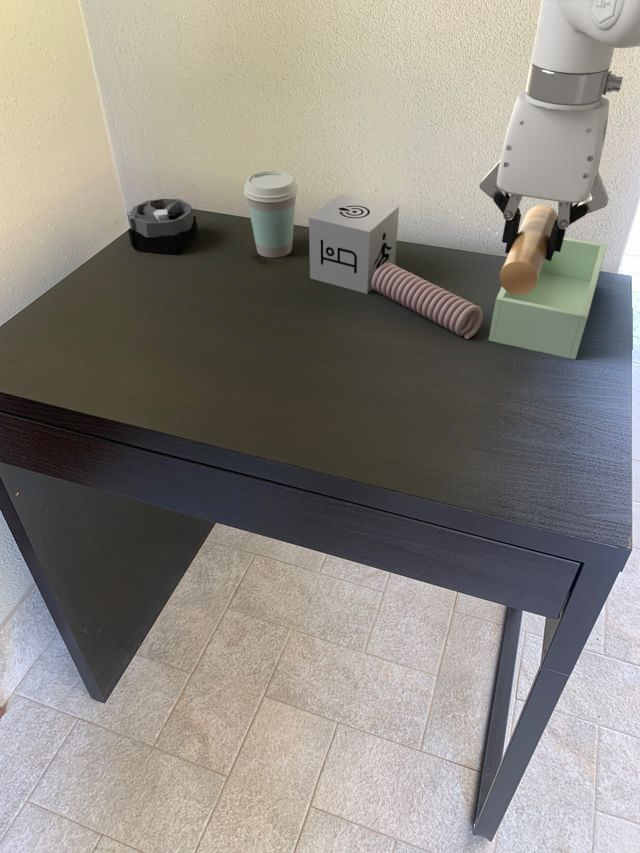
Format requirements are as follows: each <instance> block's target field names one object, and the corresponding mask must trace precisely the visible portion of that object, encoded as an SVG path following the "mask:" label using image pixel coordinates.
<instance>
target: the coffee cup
mask: <svg viewBox="0 0 640 853" xmlns="http://www.w3.org/2000/svg"><path fill="white" fill-rule="evenodd" d="M298 192H299V188H298V185H297V183H296V180H295V177H294V176H293V175H292V174H291V173H289V172H286V171H283V170H275V169H274V170H273V169H272V170H271V169H269V170H261V171H256V172H254V173H251V174H250V175H248V176H247V178H246V181H245V185H244V187H243V195H244V196H245V197H246V200H247V206H248V207H247V208H248V211H249V216H250V221H251V226H252V233H253V238H254V242H255V248H256V251H257V254H259V255H260V256H262V257H264V258H271V259H275V258H277V259H278V258H283V257H285V256H288V255H289V254H291V252H292V249H293V239H294V226H295V215H296V214H295V212H296V201H297V200H296V199H297V194H298Z"/></svg>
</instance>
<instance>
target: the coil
mask: <svg viewBox="0 0 640 853" xmlns="http://www.w3.org/2000/svg"><path fill="white" fill-rule="evenodd" d="M380 273H381V274H380ZM377 279H378V280H377ZM372 288H373V289H372V290H374V291H375V292H378V293H379V295H380V294H381V295H383V296H384V297H387V298H388V299H389V300H392V301H393V302H395V303H396V302H397V303H398V304H399V305H402V306H403V307H405V308H408V309H409V310H410V311H413V312H414V313H418V314H419V316H423V317H424V318H425V319H428V320H429V321H431V322H434V323H435V324H436V325H439V326H440V327H442V328H445V329H446V330H450V331H451V332H452V333H454V334H456V335H457V336H460V337H462V336H463V337H464V339H466V340H467V339H471V338H473V336H474V335H475V334H477V332H478V330H479V329H480V326H481V324H482V321H483V310H482V308H481V307H480V306H479V305H476V304H474V303H473V302H471V301H469V300H467V299H464V298H462V297H461V296H458V295H456V294H454V293H452V292H450V291H448V290H446V289H445V288H442V287H440V286H439V285H436V284H434V283H432V282H430V281H428V280H425V279H424V278H422V277H419V276H418V275H415V274H414V273H412V272H409V271H407V270H405V269H404V268H402V267H399V266H398V265H396V264H395V265H394V264H392V263H385V264H383V265H381V266H380V267H379V268H378V269H377V270H376V271H375V273H374V275H373V278H372Z"/></svg>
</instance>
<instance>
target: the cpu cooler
mask: <svg viewBox="0 0 640 853" xmlns="http://www.w3.org/2000/svg"><path fill="white" fill-rule="evenodd" d="M126 216H127V221H128V224H129V229H128V237H129V241H130V247H131V248H133V250H135V251H141V252H152V253H160V254H161V253H162V254H170V255H172V254H173V255H175V254H177V253H183V252H184V250H186V249H187V247H188V246H189V245H190V244H191V242H192V241H193V240H194V239H195V237H196V236H197V235H198V234H199V231H198V230H199V229H198V225H197V224H198V223H197V217H196V216H195V215H194V212H193V208H192V205H191V204H189V203H188V202H186V201H184V200H182V199H181V198H158V199H150V200H145V201H144V202H143V201H142V203H140V204H137V205H135V206H134V207H133V208H132V209H131V211H129V212H126Z"/></svg>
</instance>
